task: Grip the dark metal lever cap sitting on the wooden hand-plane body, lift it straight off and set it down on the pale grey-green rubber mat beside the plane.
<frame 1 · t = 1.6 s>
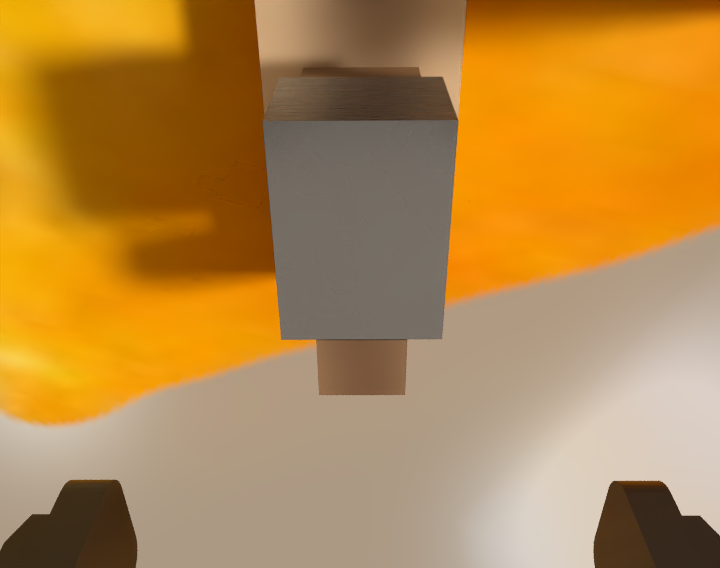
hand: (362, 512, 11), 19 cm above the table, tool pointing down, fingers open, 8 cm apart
plane body: (361, 97, 27), on the table
lever cap: (361, 182, 22), point 6 cm above the table, touching plane body
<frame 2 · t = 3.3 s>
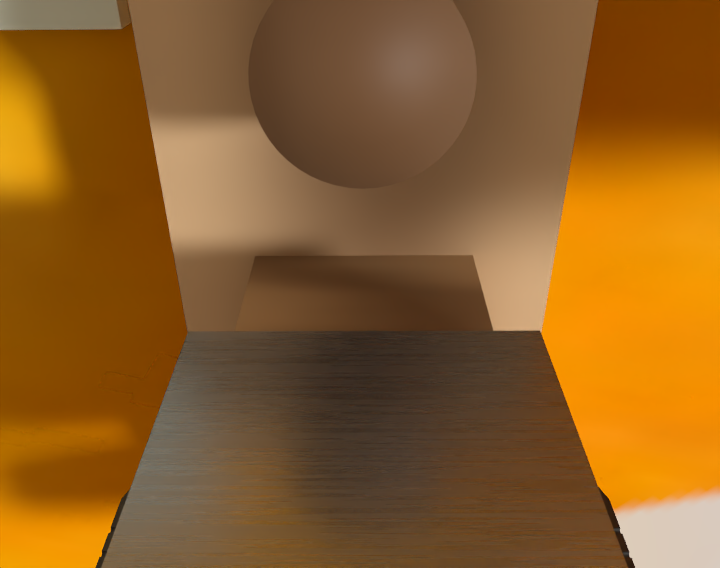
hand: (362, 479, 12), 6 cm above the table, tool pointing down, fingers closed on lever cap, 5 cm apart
plane body: (364, 265, 16), on the table
lever cap: (364, 496, 11), point 6 cm above the table, touching gripper, plane body
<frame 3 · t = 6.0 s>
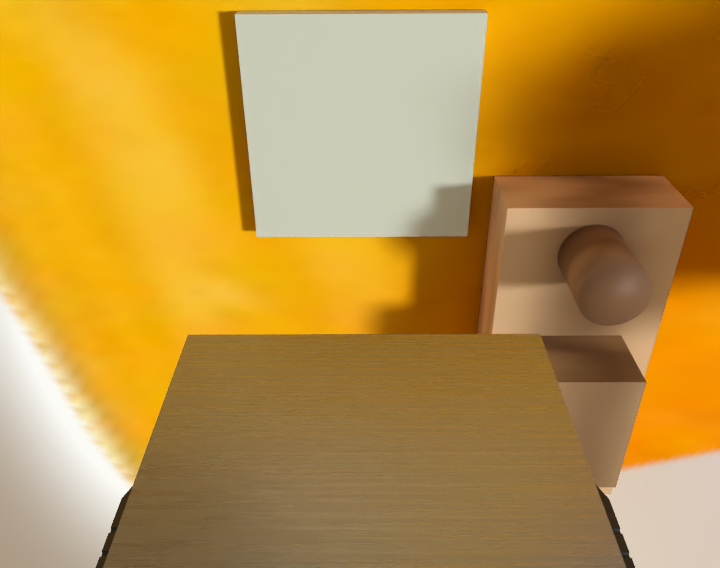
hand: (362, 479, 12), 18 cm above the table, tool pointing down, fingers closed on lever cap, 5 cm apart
mat: (361, 130, 27), on the table
plane body: (550, 331, 32), on the table
lever cap: (364, 499, 11), point 18 cm above the table, touching gripper
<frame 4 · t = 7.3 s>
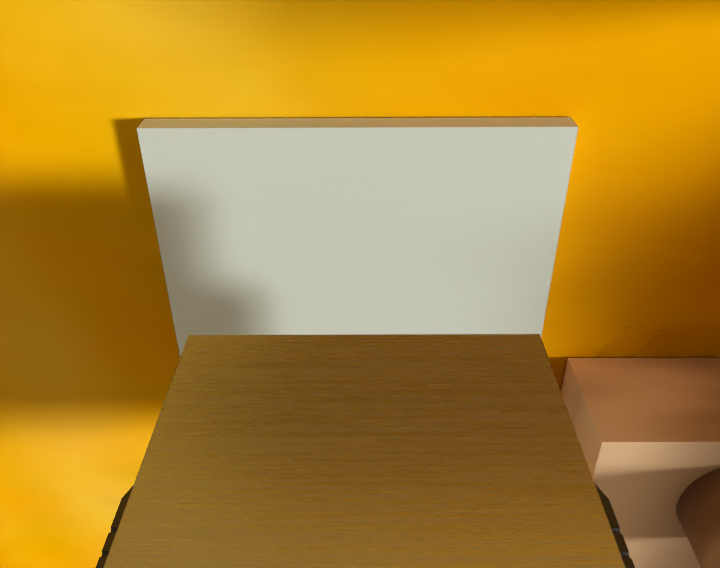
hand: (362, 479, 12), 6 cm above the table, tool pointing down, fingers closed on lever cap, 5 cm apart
mat: (358, 295, 17), on the table
plane body: (635, 548, 22), on the table
lever cap: (364, 499, 11), point 6 cm above the table, touching gripper
when the fingers open (2 cm above the table, at t = 8.5 s): lever cap drops 1 cm, resting on mat.
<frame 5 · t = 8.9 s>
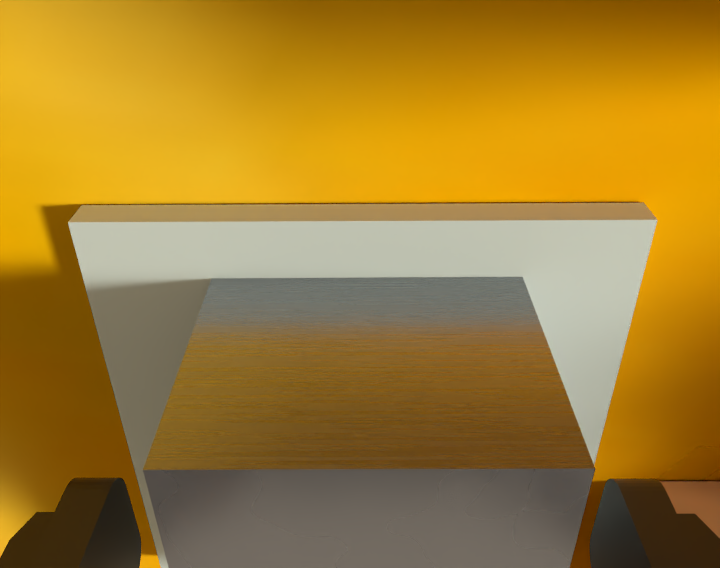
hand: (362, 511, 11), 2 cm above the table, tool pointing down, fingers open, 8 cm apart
mat: (363, 412, 13), on the table
lever cap: (367, 434, 13), point 1 cm above the table, touching mat
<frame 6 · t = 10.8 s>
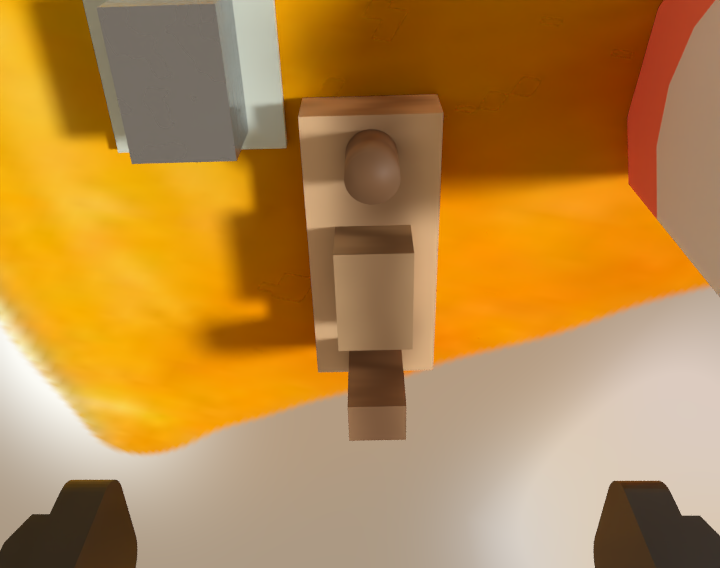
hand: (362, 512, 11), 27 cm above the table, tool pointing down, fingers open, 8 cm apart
mat: (190, 61, 34), on the table
plane body: (372, 231, 39), on the table
lever cap: (189, 64, 33), point 1 cm above the table, touching mat
french fries container: (683, 66, 34), on the table
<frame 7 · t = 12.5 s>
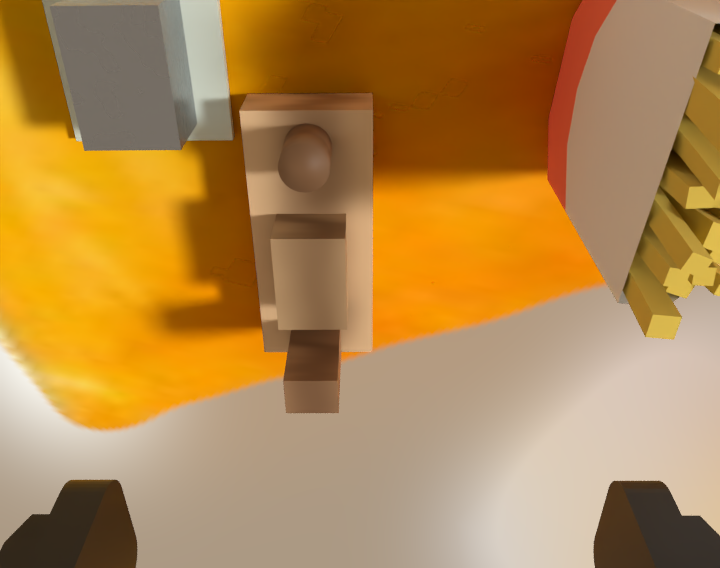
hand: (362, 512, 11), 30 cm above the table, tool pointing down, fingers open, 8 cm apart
mat: (143, 57, 37), on the table
plane body: (316, 220, 42), on the table
lever cap: (141, 60, 36), point 1 cm above the table, touching mat
french fries container: (598, 72, 37), on the table
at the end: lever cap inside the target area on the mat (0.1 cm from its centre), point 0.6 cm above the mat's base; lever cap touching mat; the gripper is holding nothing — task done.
